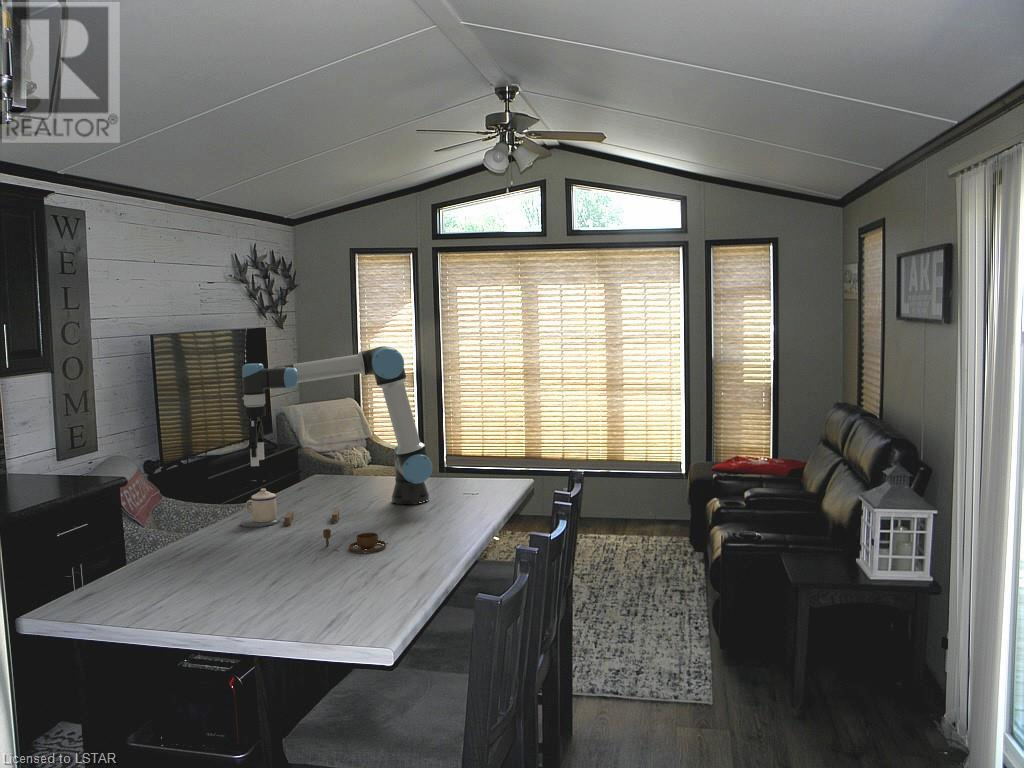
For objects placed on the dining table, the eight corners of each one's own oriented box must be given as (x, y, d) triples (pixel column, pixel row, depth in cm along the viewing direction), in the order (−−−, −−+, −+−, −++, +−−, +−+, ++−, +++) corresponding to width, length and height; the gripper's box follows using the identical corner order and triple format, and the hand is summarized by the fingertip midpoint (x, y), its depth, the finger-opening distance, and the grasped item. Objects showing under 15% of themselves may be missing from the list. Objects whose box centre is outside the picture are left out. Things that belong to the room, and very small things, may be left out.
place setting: (355, 559, 262) (354, 541, 262) (320, 548, 276) (319, 530, 276) (399, 547, 275) (399, 529, 274) (363, 537, 289) (363, 520, 288)
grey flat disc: (282, 517, 318) (282, 514, 318) (277, 526, 304) (277, 523, 304) (244, 519, 316) (244, 516, 316) (237, 528, 302) (237, 525, 302)
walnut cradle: (339, 516, 317) (338, 508, 317) (337, 522, 307) (337, 514, 307) (287, 519, 315) (287, 511, 314) (284, 525, 305) (284, 517, 304)
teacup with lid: (282, 517, 314) (280, 486, 313) (269, 523, 305) (268, 491, 304) (253, 516, 316) (251, 485, 315) (240, 522, 308) (238, 491, 307)
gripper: (249, 402, 318) (252, 457, 320) (238, 409, 294) (241, 469, 295) (270, 401, 319) (272, 456, 321) (260, 409, 295) (263, 468, 297)
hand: (257, 462), depth 308 cm, fingers open, 13 cm apart
